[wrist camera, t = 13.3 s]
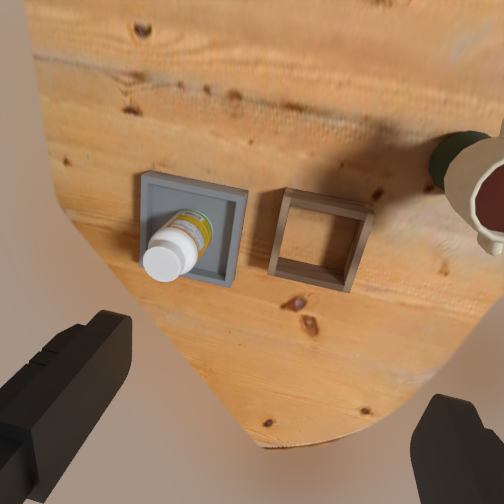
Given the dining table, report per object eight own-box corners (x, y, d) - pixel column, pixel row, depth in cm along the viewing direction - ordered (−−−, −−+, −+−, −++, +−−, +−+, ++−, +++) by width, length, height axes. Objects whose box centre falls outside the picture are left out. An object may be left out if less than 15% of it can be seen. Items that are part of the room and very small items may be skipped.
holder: (286, 187, 41) (283, 196, 38) (371, 204, 40) (375, 215, 37) (271, 261, 45) (267, 274, 42) (347, 278, 45) (349, 293, 41)
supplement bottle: (183, 254, 46) (151, 294, 38) (164, 216, 44) (125, 249, 36) (221, 241, 45) (196, 280, 36) (202, 201, 43) (171, 232, 34)
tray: (150, 170, 43) (141, 174, 41) (248, 190, 42) (244, 196, 40) (147, 258, 48) (139, 266, 46) (234, 278, 47) (230, 288, 45)
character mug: (488, 213, 39) (559, 270, 27) (416, 212, 40) (454, 267, 28) (513, 102, 34) (611, 113, 22) (431, 105, 35) (484, 118, 24)
